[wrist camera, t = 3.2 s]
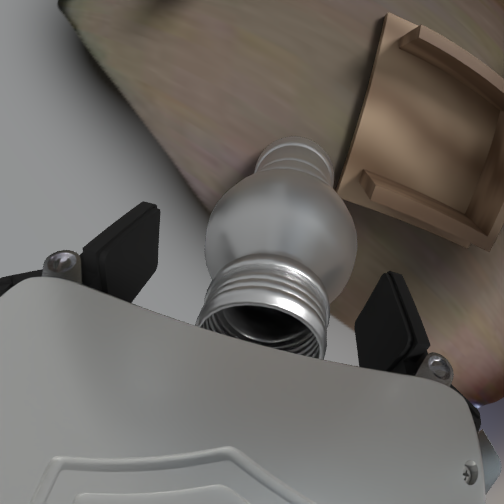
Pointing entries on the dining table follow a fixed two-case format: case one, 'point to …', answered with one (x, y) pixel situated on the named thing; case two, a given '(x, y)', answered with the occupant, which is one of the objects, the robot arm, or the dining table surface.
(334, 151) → the dining table surface
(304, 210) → the silver bottle
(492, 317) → the dining table surface
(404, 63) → the brown tray
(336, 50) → the dining table surface
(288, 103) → the dining table surface
